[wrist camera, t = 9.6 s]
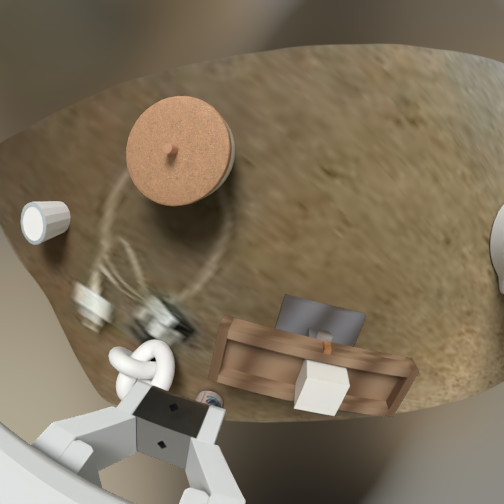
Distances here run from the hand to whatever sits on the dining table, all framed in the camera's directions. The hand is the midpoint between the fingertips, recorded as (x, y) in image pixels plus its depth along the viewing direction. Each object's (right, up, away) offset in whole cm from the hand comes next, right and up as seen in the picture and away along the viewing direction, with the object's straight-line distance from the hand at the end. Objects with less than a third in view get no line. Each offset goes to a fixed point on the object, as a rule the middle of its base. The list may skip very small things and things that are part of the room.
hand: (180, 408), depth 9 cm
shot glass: (-31, +11, +38) cm, 50 cm away
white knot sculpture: (-15, -14, +41) cm, 46 cm away
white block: (+11, -10, +27) cm, 31 cm away
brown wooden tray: (+11, -8, +36) cm, 38 cm away
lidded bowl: (-5, +18, +32) cm, 37 cm away
